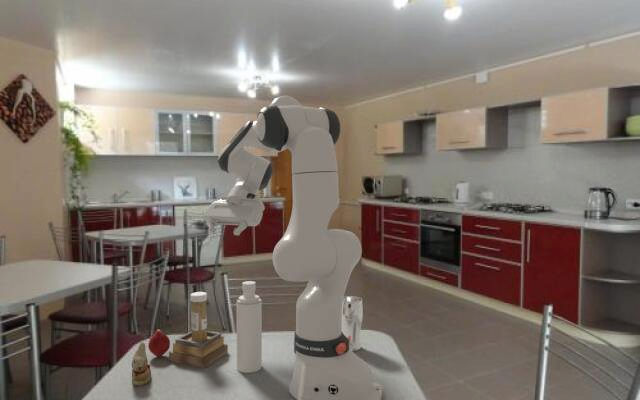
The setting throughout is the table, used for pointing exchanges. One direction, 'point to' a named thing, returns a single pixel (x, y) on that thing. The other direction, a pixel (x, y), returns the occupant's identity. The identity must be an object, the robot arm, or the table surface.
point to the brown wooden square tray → (198, 350)
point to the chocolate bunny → (140, 367)
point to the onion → (159, 343)
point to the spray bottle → (249, 329)
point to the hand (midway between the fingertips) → (223, 233)
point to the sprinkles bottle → (198, 316)
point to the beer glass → (352, 320)
